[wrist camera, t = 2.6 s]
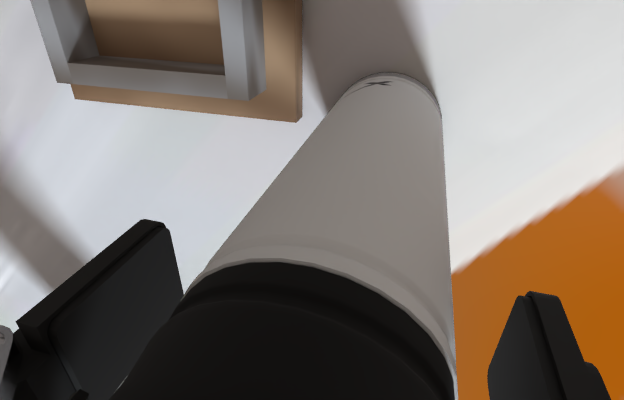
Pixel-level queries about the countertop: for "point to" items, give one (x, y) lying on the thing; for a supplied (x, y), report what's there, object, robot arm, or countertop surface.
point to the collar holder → (179, 53)
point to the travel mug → (326, 272)
